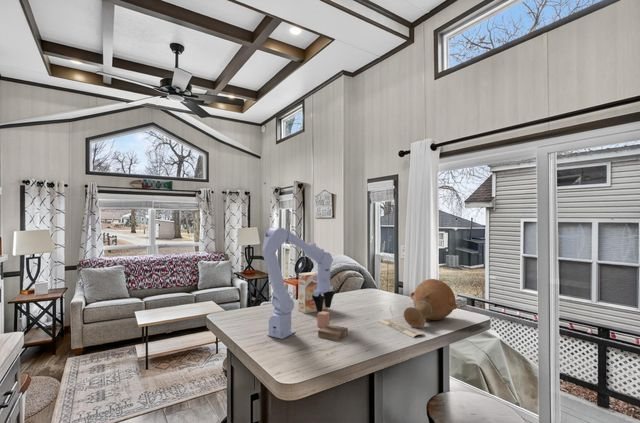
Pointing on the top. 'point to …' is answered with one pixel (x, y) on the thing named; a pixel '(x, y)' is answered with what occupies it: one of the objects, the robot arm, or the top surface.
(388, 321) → the newspaper
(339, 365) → the top surface
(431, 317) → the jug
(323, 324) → the terracotta block
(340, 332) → the walnut base block
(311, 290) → the coffeecake box
